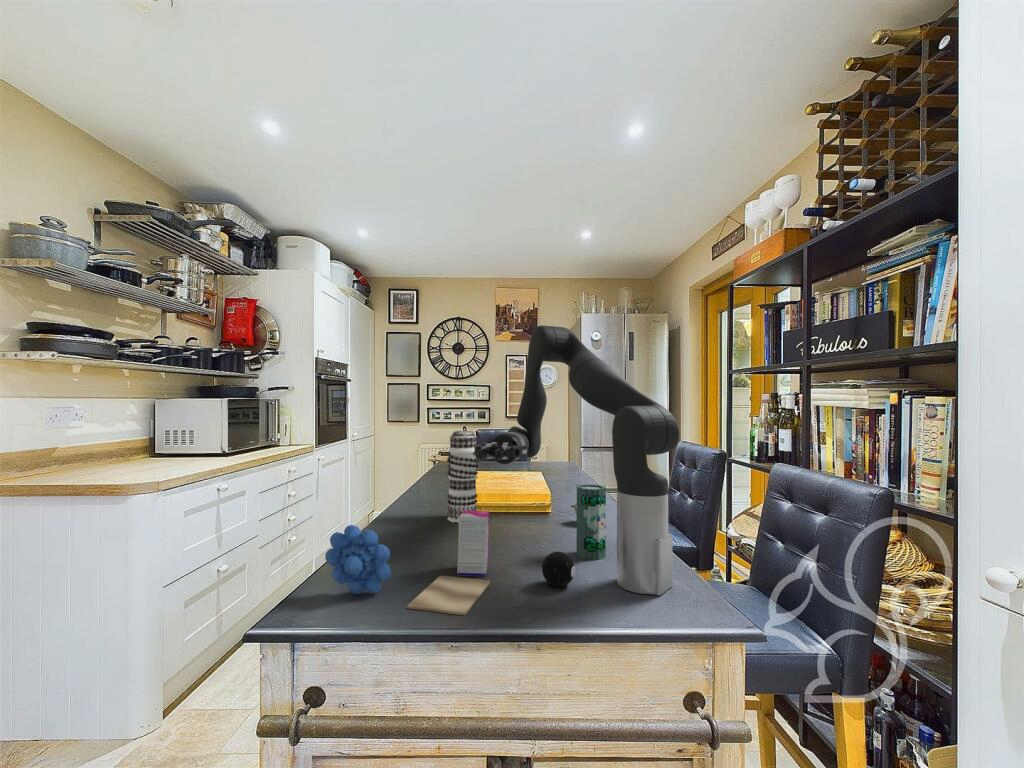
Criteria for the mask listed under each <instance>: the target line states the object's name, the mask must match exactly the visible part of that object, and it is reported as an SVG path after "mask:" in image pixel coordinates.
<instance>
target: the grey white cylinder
mask: <svg viewBox="0 0 1024 768" xmlns="http://www.w3.org/2000/svg"><path fill="white" fill-rule="evenodd" d="M449 438H450V439H449V451H448V452H446V453H447V454H446V456H447V457H448V458H447V459H446V461H447V462H448V465H447V467H446V468H447V469H448V470H447V472H446V473H447V475H448V477H447V478H448V480H449V487H448V495H447V498H448V500H447V504H448V506H447V512H446V514H447V516H448V517H447V521H448V520H449V522H450V521H451V522H450V523H454V522H458V523H457V524H459V517H460V515H461V513H462V511H463V510H465V511H478V506H477V503H478V500H477V497H479V496H478V494H477V486H476V485H477V481H476V480H477V479H478V474H479V472H478V471H477V470H476V469H477V468H479V464H477V463H478V462H480V461H479V460H480V459H479V458H477V457H475V455H474V445H475V444H477V438H478V436H477V435H475V433H474V431H470V430H455V431H453V432H452V434H451V435H450V436H449Z"/></svg>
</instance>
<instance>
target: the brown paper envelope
mask: <svg viewBox="0 0 1024 768" xmlns="http://www.w3.org/2000/svg"><path fill="white" fill-rule="evenodd" d="M490 583H491V580H486V579H479V578H468V577H461V576H448V575H439V576H438V577H437V578H436V579H435V580H434V581H433V582H431V583H430V584H429V585H428V586H427V587H425V589H423V590H422V592H420V593H419V594H418V595H417V596H416V597H415V598H414V599H412V600H411V602H409V603H408V604H407V606H406V609H411V610H417V611H418V610H419V611H426V612H435V613H444V614H452V615H460V616H466V615H467V614H468V611H469V610H470V609H471V608H472V607H473V605H474V604H475V603H476V602H477V600H478V599H479V598H480V597H481V595H482V594H483V592H484V591H485V590H486V589H487V588H488V586H490Z"/></svg>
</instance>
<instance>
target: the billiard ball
mask: <svg viewBox="0 0 1024 768" xmlns="http://www.w3.org/2000/svg"><path fill="white" fill-rule="evenodd" d="M575 567H576V566H575V562H574V560H573V558H572V557H571V556H570V555H569V554H567V553H566V552H564V551H553V552H550V553H548V554H547V555H546V556H545V557H544V559H543V561H542V565H541V571H542V576H543V578H544V580H545V581H546V582H547V583H548V584H550V585H551V586H554V587H564V586H567V585H569V584H570V583H571V582H572V581H573V579H574V576H575V571H576V568H575Z"/></svg>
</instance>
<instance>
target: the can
mask: <svg viewBox="0 0 1024 768" xmlns="http://www.w3.org/2000/svg"><path fill="white" fill-rule="evenodd" d="M606 492H607V487H606V486H604V485H600V484H588V483H587V484H578V485H576V503H577V515H576V550H575V551H576V556H577V557H578V558H581V559H584V560H589V561H590V560H592V561H596V560H598V561H599V560H603V559H605V557H606V556H607V554H606V552H607V551H606V544H607V543H606V542H607V541H606V539H607V538H606V537H607V536H606V535H607V534H606V532H607V531H606V530H607V529H606V527H607V526H606V524H607V522H606V520H607V518H606V517H607V515H606V514H607V513H606V512H607V509H606V507H607V506H606V505H607V501H606V500H607V495H606V494H607V493H606Z"/></svg>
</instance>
